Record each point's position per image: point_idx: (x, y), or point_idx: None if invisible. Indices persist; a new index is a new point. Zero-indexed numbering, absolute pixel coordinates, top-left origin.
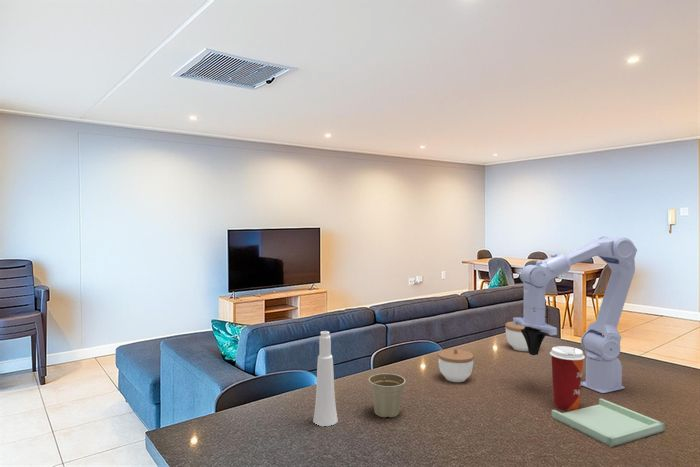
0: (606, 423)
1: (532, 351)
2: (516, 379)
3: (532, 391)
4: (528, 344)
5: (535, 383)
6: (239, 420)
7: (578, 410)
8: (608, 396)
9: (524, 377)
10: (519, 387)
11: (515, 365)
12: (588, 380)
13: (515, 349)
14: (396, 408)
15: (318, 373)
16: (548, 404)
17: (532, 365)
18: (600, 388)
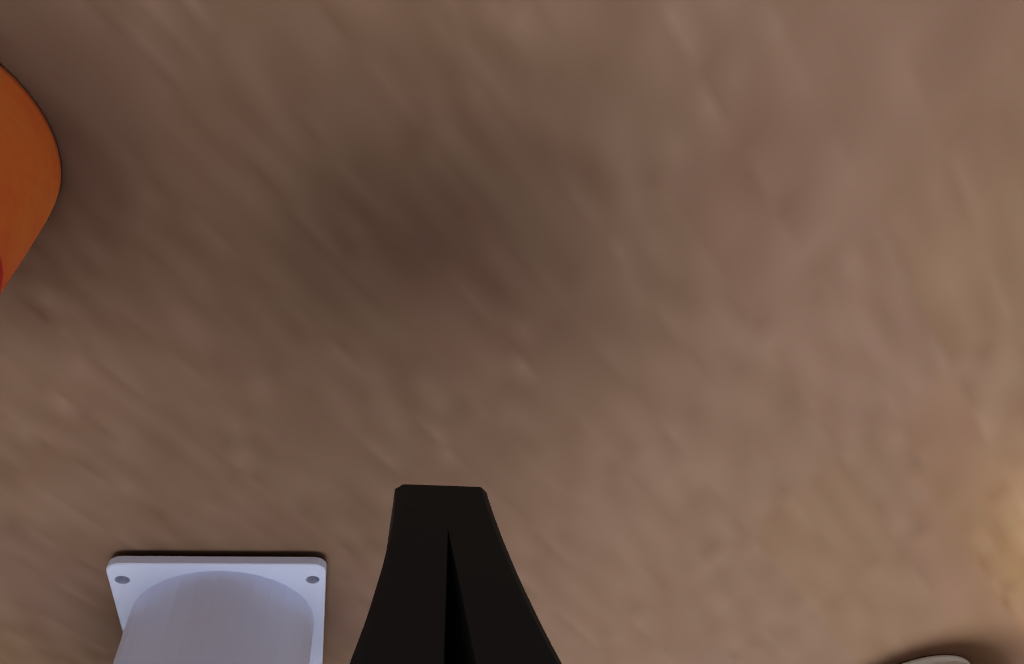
0: None
1: (390, 538)
2: (686, 302)
3: (405, 185)
4: (493, 648)
5: (522, 357)
6: None
7: None
8: (61, 551)
9: (662, 385)
10: (551, 164)
11: (835, 500)
12: (235, 610)
13: (943, 656)
14: None
15: None
16: (27, 13)
17: (741, 571)
18: (153, 590)
